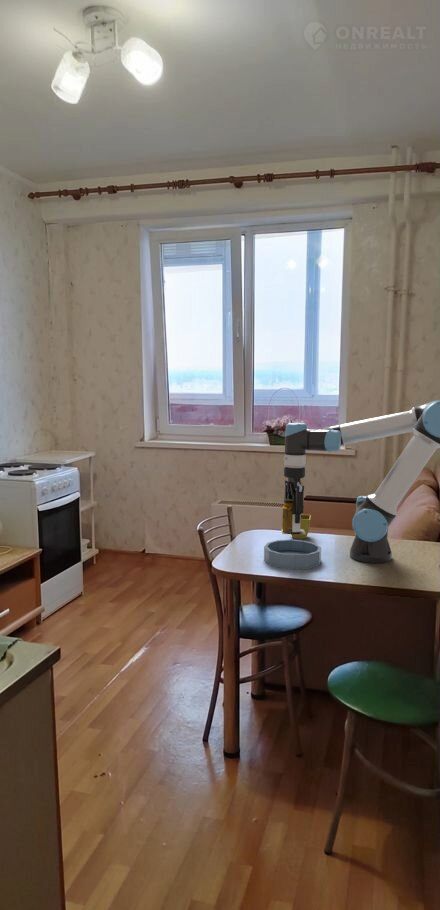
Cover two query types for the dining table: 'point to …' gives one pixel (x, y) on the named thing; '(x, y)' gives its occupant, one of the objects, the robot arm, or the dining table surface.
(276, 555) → the bowl
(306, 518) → the flower pot
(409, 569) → the dining table surface
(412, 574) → the dining table surface
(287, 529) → the condiment
